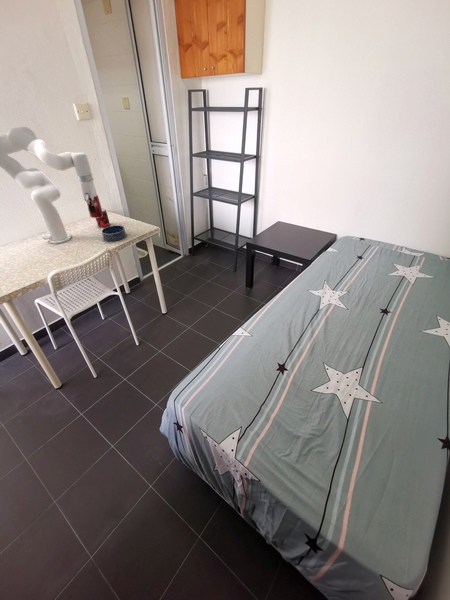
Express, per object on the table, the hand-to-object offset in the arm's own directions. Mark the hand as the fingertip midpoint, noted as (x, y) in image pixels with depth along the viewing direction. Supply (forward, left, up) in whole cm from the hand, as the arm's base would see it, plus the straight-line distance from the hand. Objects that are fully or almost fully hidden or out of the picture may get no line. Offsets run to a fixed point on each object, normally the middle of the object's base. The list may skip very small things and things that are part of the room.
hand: (95, 209), depth 166 cm
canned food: (+3, +26, -20) cm, 32 cm away
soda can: (0, 0, -4) cm, 4 cm away
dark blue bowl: (+7, +2, -19) cm, 21 cm away
